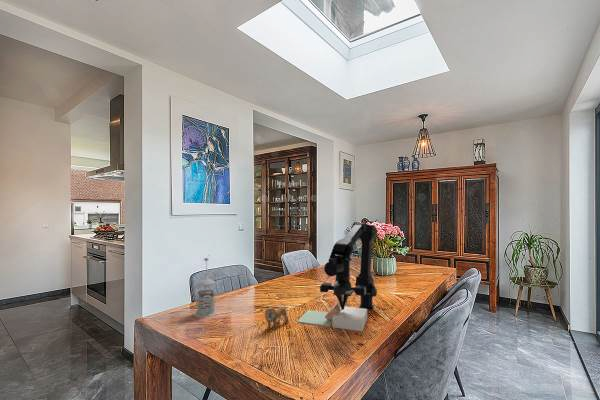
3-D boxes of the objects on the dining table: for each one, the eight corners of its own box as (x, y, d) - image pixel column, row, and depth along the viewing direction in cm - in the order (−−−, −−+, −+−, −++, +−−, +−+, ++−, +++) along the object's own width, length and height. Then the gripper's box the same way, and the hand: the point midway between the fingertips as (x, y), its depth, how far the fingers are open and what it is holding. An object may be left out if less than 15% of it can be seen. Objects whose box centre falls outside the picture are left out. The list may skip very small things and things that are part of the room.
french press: (210, 318, 130) (211, 260, 131) (185, 316, 132) (186, 259, 133) (220, 310, 140) (221, 256, 140) (197, 309, 142) (198, 255, 143)
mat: (308, 310, 140) (308, 310, 140) (337, 314, 136) (337, 313, 136) (297, 322, 126) (297, 321, 126) (329, 326, 122) (329, 325, 122)
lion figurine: (273, 333, 115) (273, 310, 115) (261, 331, 117) (261, 307, 117) (291, 321, 128) (291, 299, 128) (280, 318, 130) (280, 297, 130)
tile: (333, 313, 134) (329, 309, 134) (342, 304, 132) (338, 300, 133) (328, 320, 125) (324, 316, 126) (337, 311, 124) (334, 307, 124)
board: (339, 314, 135) (339, 305, 136) (367, 318, 132) (367, 308, 132) (332, 327, 121) (332, 317, 121) (362, 331, 117) (362, 321, 117)
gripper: (316, 274, 123) (316, 313, 123) (362, 278, 117) (362, 318, 117) (323, 269, 134) (323, 304, 133) (366, 272, 128) (366, 309, 127)
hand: (342, 309), depth 128 cm, fingers closed
